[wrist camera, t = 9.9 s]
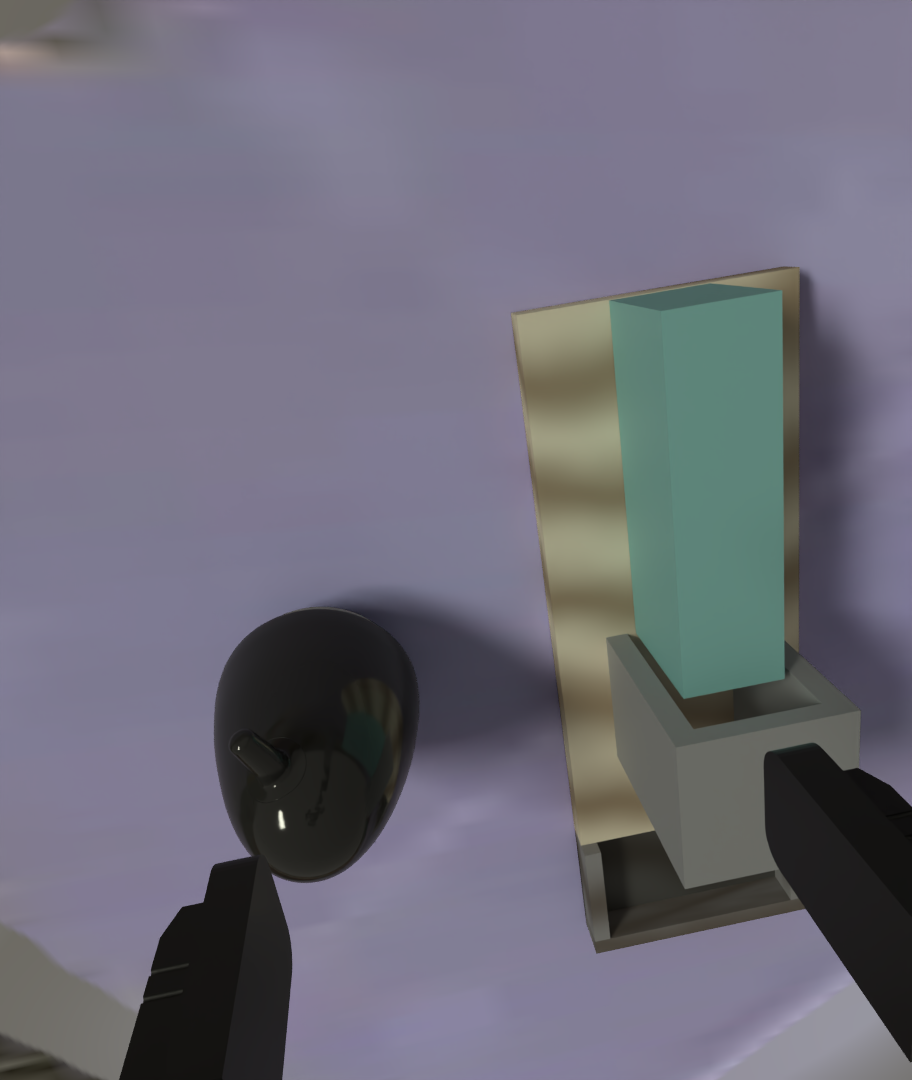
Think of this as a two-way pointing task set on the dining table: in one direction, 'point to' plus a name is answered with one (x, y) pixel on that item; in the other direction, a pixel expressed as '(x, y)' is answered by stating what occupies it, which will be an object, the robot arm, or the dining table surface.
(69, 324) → the dining table surface
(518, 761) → the dining table surface
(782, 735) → the tunnel
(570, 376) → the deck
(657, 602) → the teal pillar
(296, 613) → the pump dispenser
